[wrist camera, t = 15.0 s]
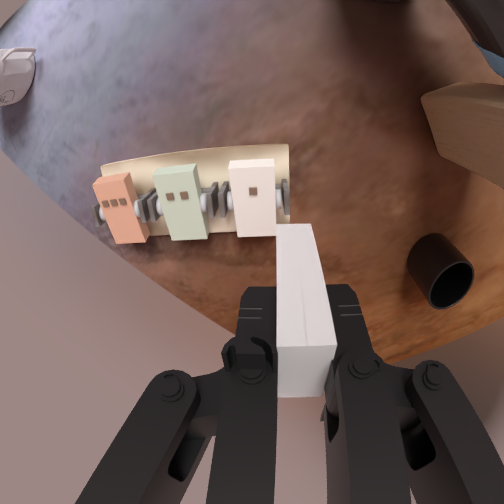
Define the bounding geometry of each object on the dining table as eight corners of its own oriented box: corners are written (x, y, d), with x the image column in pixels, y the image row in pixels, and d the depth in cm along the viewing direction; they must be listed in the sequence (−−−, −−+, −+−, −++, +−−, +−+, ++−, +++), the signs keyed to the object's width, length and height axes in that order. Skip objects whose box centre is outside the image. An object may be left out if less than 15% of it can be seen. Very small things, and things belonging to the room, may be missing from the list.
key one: (224, 160, 31) (222, 170, 29) (279, 157, 30) (280, 167, 28) (234, 226, 38) (232, 238, 36) (280, 224, 37) (281, 236, 36)
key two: (153, 168, 31) (146, 177, 30) (201, 162, 31) (198, 171, 29) (171, 230, 38) (167, 241, 36) (214, 228, 38) (212, 240, 36)
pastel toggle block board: (104, 164, 36) (80, 176, 30) (287, 143, 34) (292, 152, 28) (121, 234, 42) (103, 254, 36) (289, 226, 40) (293, 248, 34)
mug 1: (9, 113, 30) (-29, 125, 21) (0, 71, 25) (-37, 77, 16) (51, 72, 27) (9, 75, 19) (42, 27, 22) (2, 24, 14)
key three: (96, 177, 32) (87, 186, 30) (134, 170, 32) (127, 179, 30) (118, 234, 39) (112, 245, 37) (154, 232, 38) (149, 243, 37)
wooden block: (477, 138, 30) (567, 179, 13) (436, 157, 33) (529, 210, 16) (460, 80, 26) (558, 94, 8) (415, 95, 29) (518, 110, 11)
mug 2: (429, 290, 45) (449, 322, 38) (397, 262, 42) (418, 295, 35) (461, 256, 41) (485, 284, 33) (432, 222, 38) (460, 249, 30)
